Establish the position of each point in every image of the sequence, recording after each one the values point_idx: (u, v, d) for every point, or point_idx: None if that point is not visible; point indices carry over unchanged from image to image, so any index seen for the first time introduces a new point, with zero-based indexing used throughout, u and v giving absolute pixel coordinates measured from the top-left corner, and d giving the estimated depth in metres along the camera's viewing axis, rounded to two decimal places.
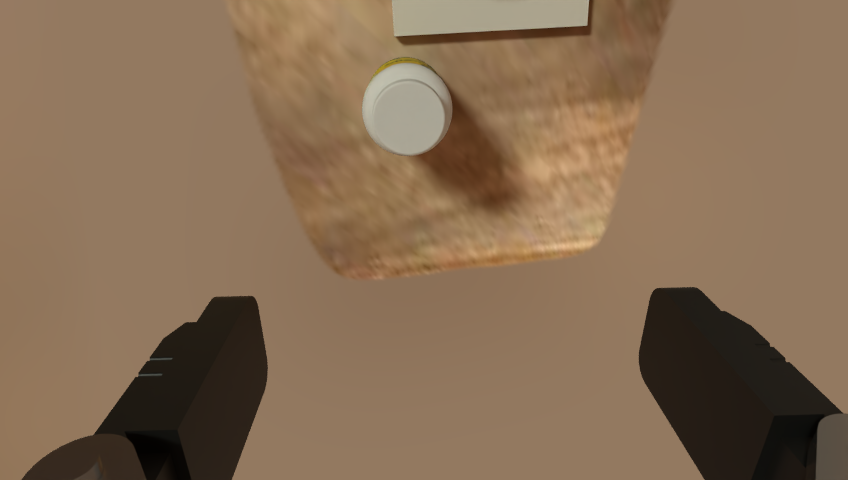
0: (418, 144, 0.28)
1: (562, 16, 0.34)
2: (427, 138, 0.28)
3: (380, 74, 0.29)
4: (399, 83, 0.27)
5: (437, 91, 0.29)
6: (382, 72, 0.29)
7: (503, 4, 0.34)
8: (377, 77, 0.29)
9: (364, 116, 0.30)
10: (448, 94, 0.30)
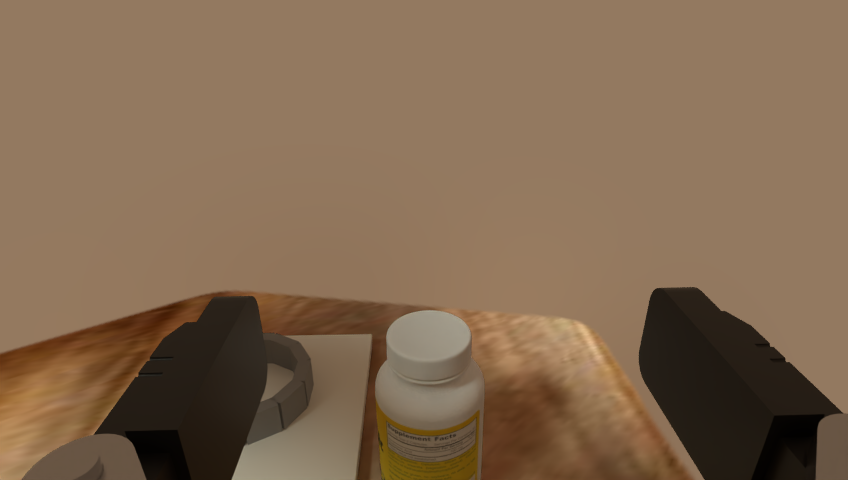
0: (457, 326, 0.24)
1: (361, 348, 0.37)
2: (450, 320, 0.25)
3: (383, 400, 0.24)
4: (388, 339, 0.24)
5: None
6: (381, 399, 0.24)
7: (341, 385, 0.34)
8: (386, 401, 0.24)
9: (433, 412, 0.23)
10: None
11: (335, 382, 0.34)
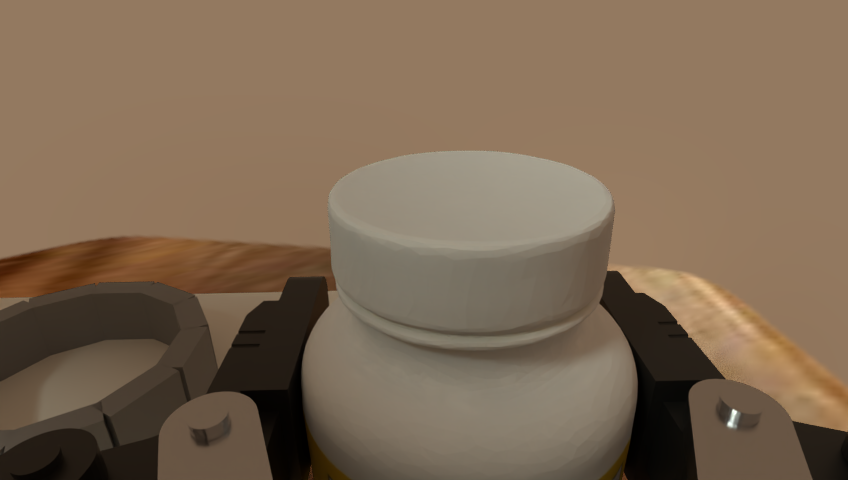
0: (557, 174, 0.08)
1: None
2: (530, 165, 0.08)
3: (318, 407, 0.07)
4: (332, 201, 0.07)
5: None
6: (313, 405, 0.07)
7: None
8: (326, 412, 0.07)
9: (495, 455, 0.06)
10: None
11: None
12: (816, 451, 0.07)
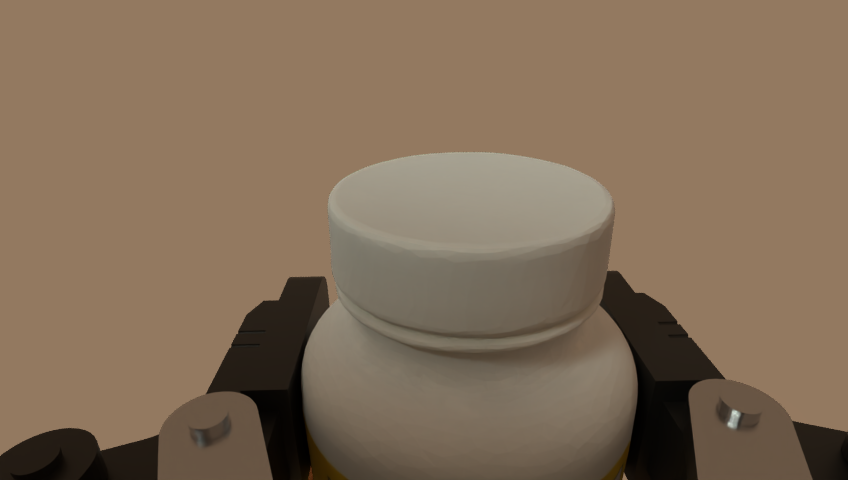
0: (557, 176, 0.08)
1: None
2: (530, 166, 0.08)
3: (318, 409, 0.07)
4: (332, 203, 0.07)
5: None
6: (313, 407, 0.07)
7: None
8: (326, 414, 0.07)
9: (494, 457, 0.06)
10: None
11: None
12: (816, 451, 0.07)
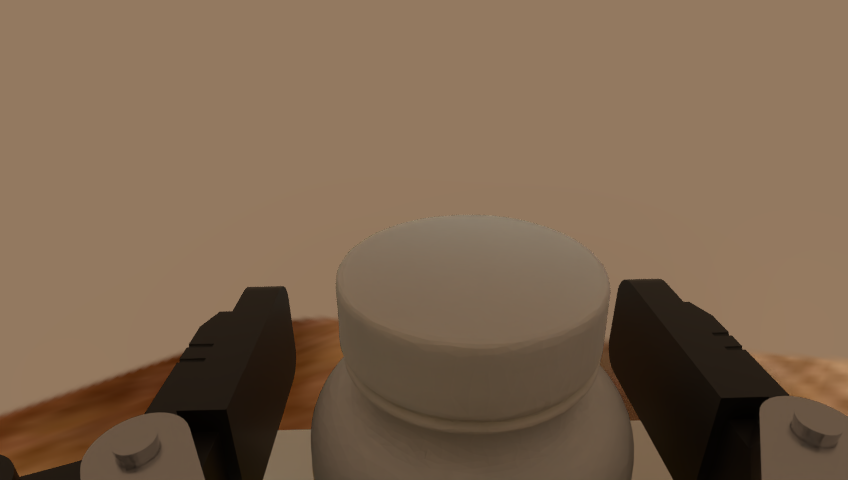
0: (555, 248, 0.08)
1: (659, 460, 0.16)
2: (529, 235, 0.09)
3: (328, 477, 0.07)
4: (340, 283, 0.07)
5: None
6: (323, 474, 0.08)
7: None
8: None
9: None
10: None
11: None
12: None
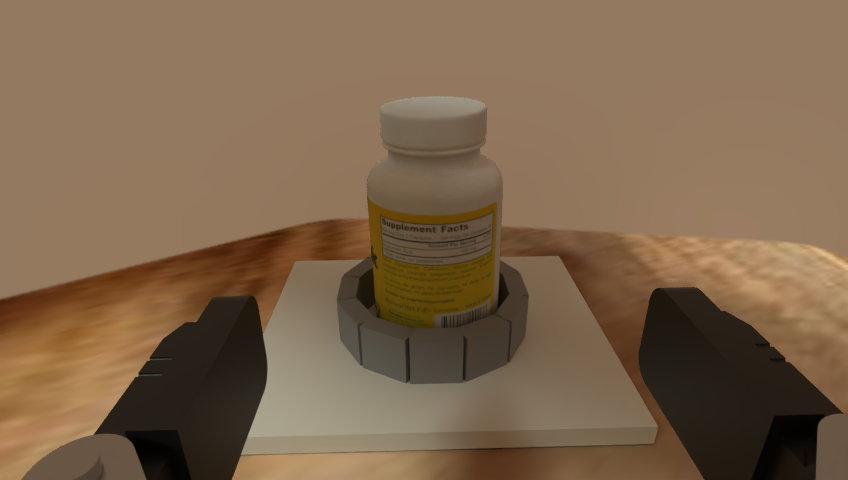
0: (469, 102, 0.20)
1: (555, 270, 0.28)
2: (460, 100, 0.20)
3: (376, 188, 0.19)
4: (382, 109, 0.19)
5: None
6: (374, 188, 0.19)
7: (556, 310, 0.24)
8: (380, 187, 0.19)
9: (439, 191, 0.18)
10: None
11: (545, 307, 0.25)
12: None
